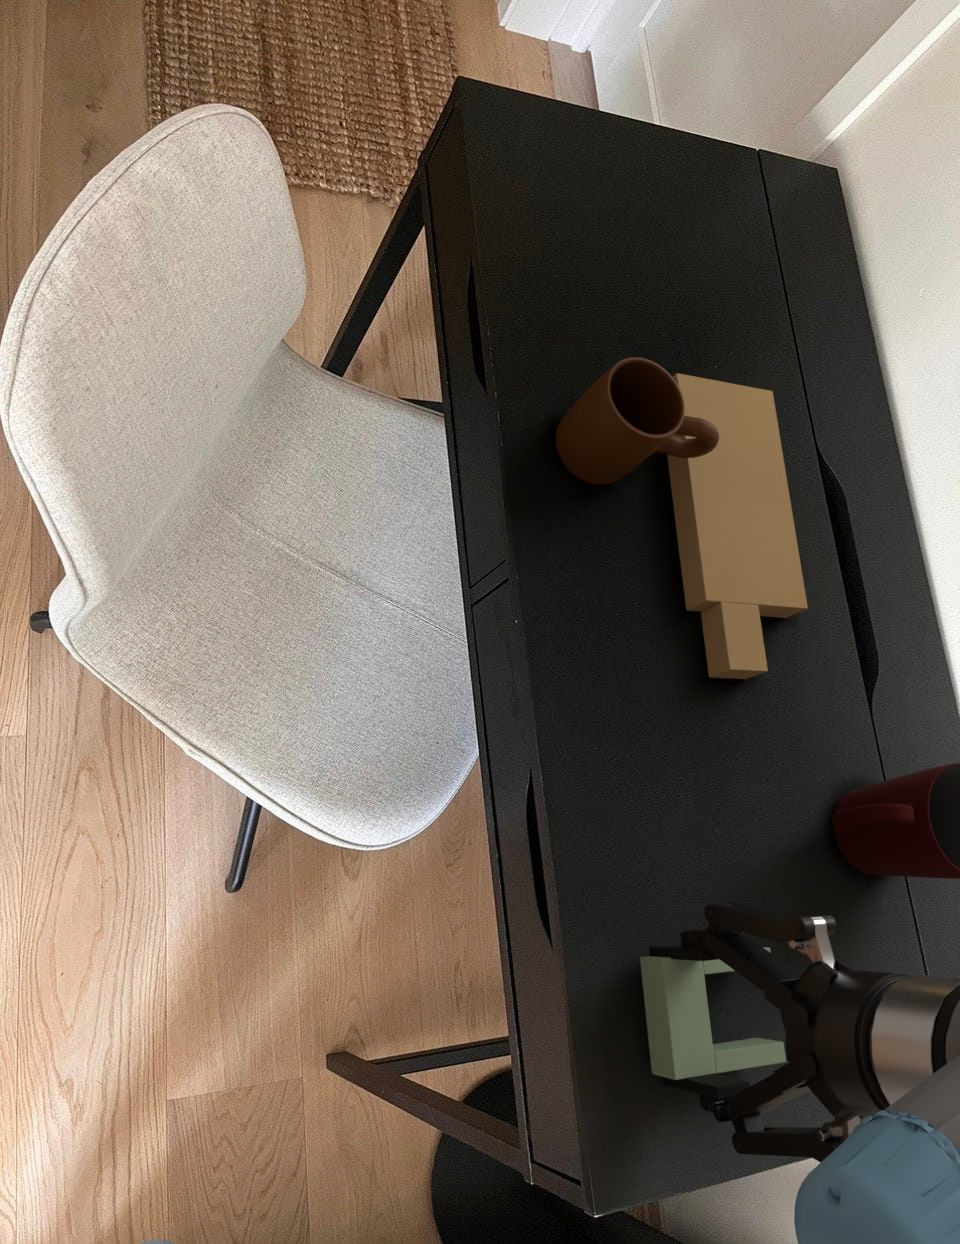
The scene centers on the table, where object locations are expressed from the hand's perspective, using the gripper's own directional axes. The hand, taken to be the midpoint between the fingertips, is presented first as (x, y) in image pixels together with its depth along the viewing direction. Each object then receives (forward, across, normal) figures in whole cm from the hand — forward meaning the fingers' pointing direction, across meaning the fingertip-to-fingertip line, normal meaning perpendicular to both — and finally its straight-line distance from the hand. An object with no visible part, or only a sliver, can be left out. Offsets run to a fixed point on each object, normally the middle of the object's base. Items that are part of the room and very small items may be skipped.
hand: (671, 1012), depth 68 cm
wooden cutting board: (+1, +40, -12) cm, 42 cm away
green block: (0, 0, -3) cm, 3 cm away
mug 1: (+1, +46, -1) cm, 46 cm away
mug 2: (+1, +13, -22) cm, 25 cm away
